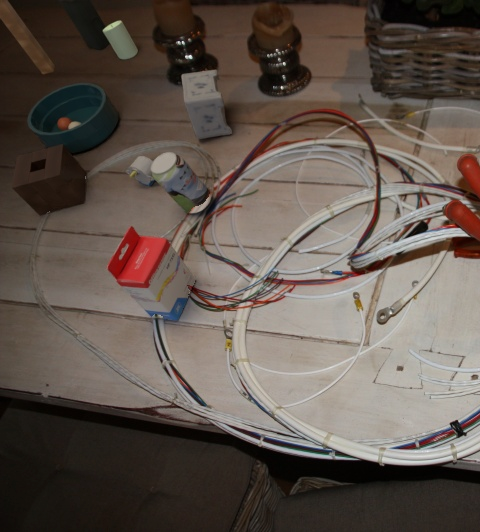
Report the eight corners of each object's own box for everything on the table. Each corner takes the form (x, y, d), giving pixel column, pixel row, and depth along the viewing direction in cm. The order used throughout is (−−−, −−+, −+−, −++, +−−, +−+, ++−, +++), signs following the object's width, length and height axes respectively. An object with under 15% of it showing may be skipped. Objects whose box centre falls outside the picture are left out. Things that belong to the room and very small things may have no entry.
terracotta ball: (62, 136, 118) (53, 125, 115) (63, 127, 120) (54, 116, 117) (76, 132, 118) (67, 121, 116) (76, 123, 120) (68, 112, 117)
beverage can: (216, 212, 102) (189, 166, 92) (178, 223, 101) (146, 178, 91) (213, 188, 105) (187, 142, 95) (176, 199, 105) (146, 154, 95)
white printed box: (238, 133, 114) (219, 92, 105) (199, 144, 113) (177, 104, 104) (232, 105, 119) (214, 64, 111) (195, 115, 118) (174, 75, 110)
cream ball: (73, 140, 117) (64, 129, 114) (74, 131, 118) (65, 120, 116) (87, 136, 117) (79, 125, 114) (87, 127, 119) (79, 117, 116)
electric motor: (127, 187, 108) (113, 169, 104) (141, 170, 110) (129, 152, 106) (154, 194, 106) (142, 176, 102) (169, 177, 108) (157, 159, 104)
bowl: (42, 164, 114) (23, 143, 109) (48, 116, 124) (31, 94, 119) (119, 143, 116) (104, 121, 111) (120, 97, 125) (106, 75, 120)
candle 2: (114, 56, 135) (95, 25, 128) (129, 45, 137) (112, 14, 130) (126, 62, 133) (108, 31, 126) (142, 50, 135) (125, 20, 128)
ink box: (178, 322, 89) (133, 272, 77) (151, 318, 90) (102, 269, 78) (198, 278, 93) (158, 225, 81) (172, 275, 94) (129, 223, 82)
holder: (39, 215, 106) (11, 188, 99) (43, 184, 111) (17, 156, 104) (84, 203, 107) (59, 174, 100) (86, 172, 112) (63, 143, 105)
